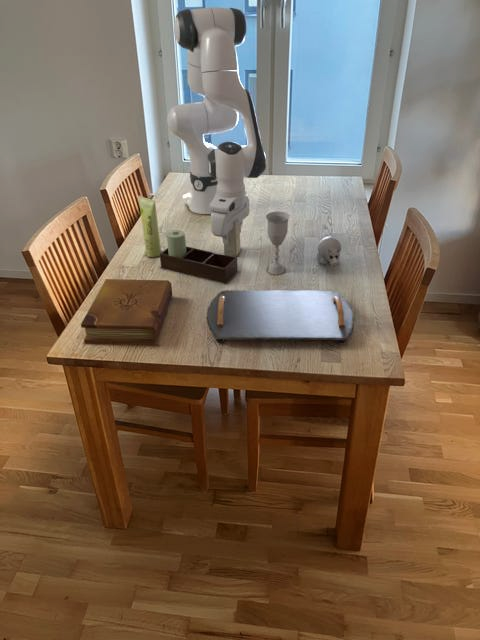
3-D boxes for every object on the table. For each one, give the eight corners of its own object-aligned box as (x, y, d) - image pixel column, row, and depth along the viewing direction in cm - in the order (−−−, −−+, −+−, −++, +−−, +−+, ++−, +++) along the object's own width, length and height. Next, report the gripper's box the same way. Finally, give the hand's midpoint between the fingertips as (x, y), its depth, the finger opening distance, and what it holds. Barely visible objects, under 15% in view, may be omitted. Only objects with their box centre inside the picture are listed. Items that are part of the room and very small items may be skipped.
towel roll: (175, 259, 170) (172, 228, 163) (190, 263, 167) (188, 231, 161) (166, 267, 165) (163, 235, 159) (181, 270, 163) (178, 238, 157)
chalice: (276, 262, 167) (277, 209, 157) (292, 269, 163) (294, 215, 153) (260, 270, 163) (260, 216, 153) (276, 278, 159) (278, 223, 149)
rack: (174, 257, 171) (173, 243, 168) (237, 271, 162) (237, 257, 160) (161, 268, 165) (159, 253, 162) (225, 283, 156) (225, 269, 154)
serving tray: (203, 347, 131) (202, 326, 127) (210, 298, 150) (209, 279, 146) (359, 348, 130) (362, 327, 126) (345, 298, 149) (348, 279, 145)
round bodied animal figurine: (321, 275, 160) (323, 250, 155) (314, 257, 170) (316, 233, 165) (344, 274, 160) (347, 249, 156) (336, 256, 170) (339, 232, 165)
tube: (143, 258, 171) (136, 201, 160) (145, 250, 175) (138, 195, 164) (161, 257, 171) (154, 200, 160) (162, 250, 175) (156, 194, 164)
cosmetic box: (236, 257, 170) (236, 222, 163) (223, 256, 171) (222, 221, 164) (240, 248, 175) (240, 214, 168) (227, 247, 176) (226, 214, 169)
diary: (157, 345, 132) (155, 326, 128) (84, 343, 133) (80, 324, 129) (172, 297, 151) (170, 279, 147) (108, 295, 152) (105, 278, 148)
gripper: (236, 185, 171) (237, 224, 179) (206, 207, 156) (208, 249, 164) (254, 188, 169) (254, 227, 177) (225, 210, 154) (226, 252, 162)
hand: (232, 238), depth 170 cm, fingers closed on cosmetic box, 6 cm apart
